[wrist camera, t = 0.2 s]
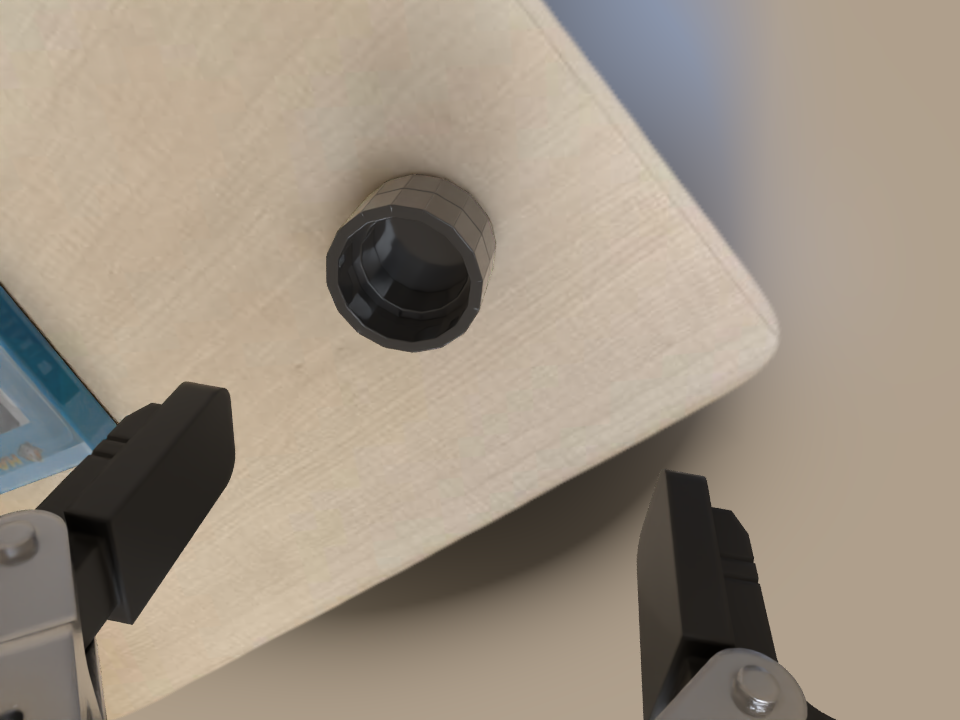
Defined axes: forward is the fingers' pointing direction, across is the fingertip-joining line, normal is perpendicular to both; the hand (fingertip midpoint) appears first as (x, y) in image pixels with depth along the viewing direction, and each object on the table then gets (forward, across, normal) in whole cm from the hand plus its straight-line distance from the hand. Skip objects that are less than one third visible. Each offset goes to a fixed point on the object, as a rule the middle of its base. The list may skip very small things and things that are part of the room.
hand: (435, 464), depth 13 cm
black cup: (+19, +4, +4) cm, 20 cm away
